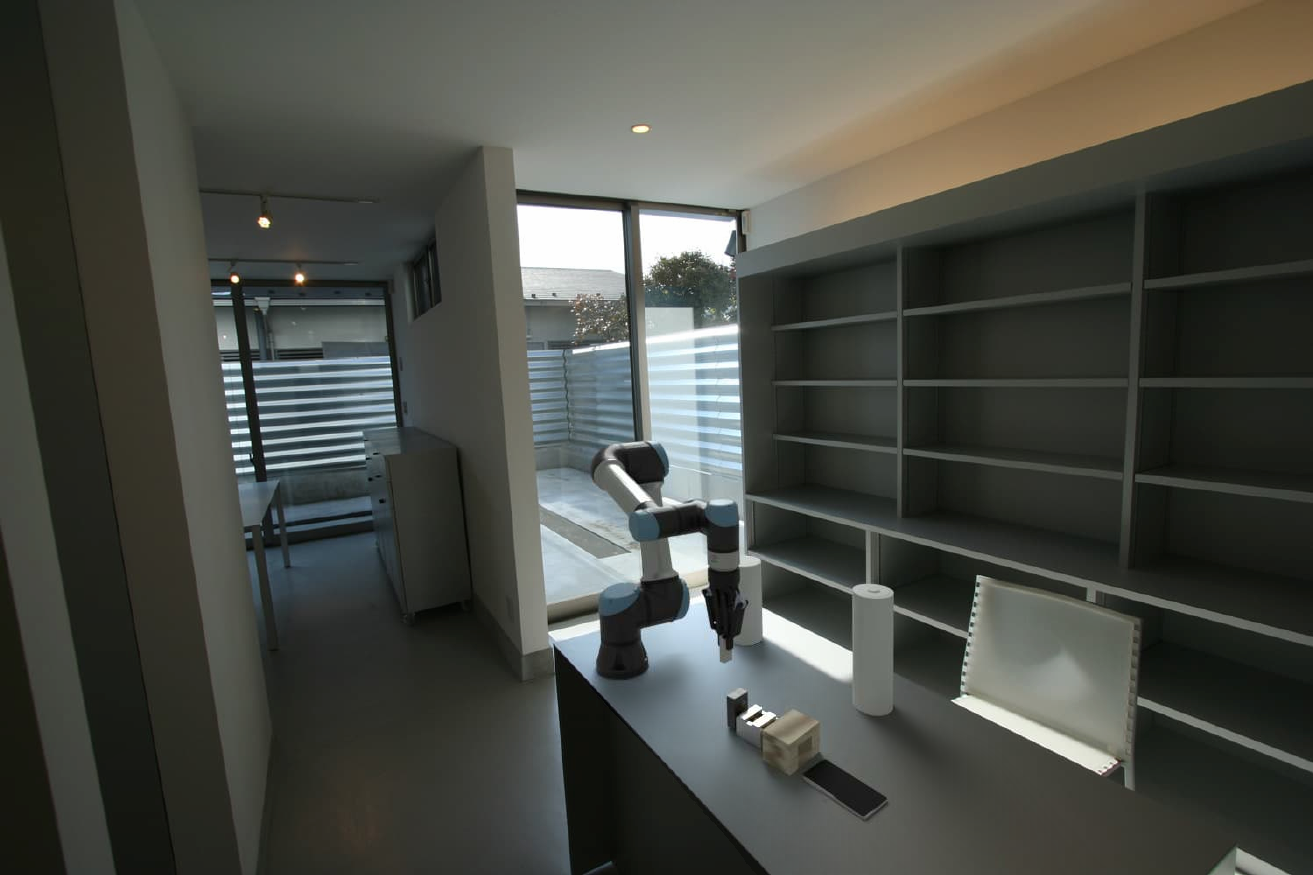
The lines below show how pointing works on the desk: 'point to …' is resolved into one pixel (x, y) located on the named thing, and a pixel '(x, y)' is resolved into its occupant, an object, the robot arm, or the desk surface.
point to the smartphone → (844, 788)
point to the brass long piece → (738, 707)
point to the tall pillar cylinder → (750, 601)
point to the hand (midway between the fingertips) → (725, 660)
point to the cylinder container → (872, 648)
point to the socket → (791, 741)
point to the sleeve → (753, 725)
